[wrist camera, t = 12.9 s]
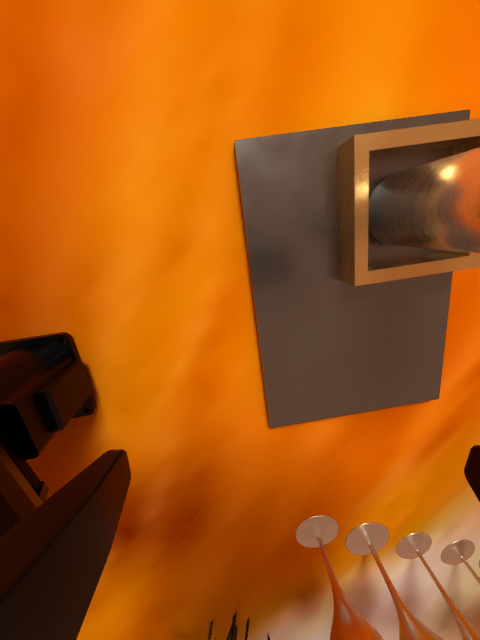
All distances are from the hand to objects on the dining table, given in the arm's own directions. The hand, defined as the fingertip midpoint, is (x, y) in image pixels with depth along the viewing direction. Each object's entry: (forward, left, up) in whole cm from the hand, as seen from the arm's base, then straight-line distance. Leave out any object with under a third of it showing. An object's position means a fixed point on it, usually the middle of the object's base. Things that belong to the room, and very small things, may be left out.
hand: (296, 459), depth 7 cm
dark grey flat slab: (+8, +1, -13) cm, 15 cm away
